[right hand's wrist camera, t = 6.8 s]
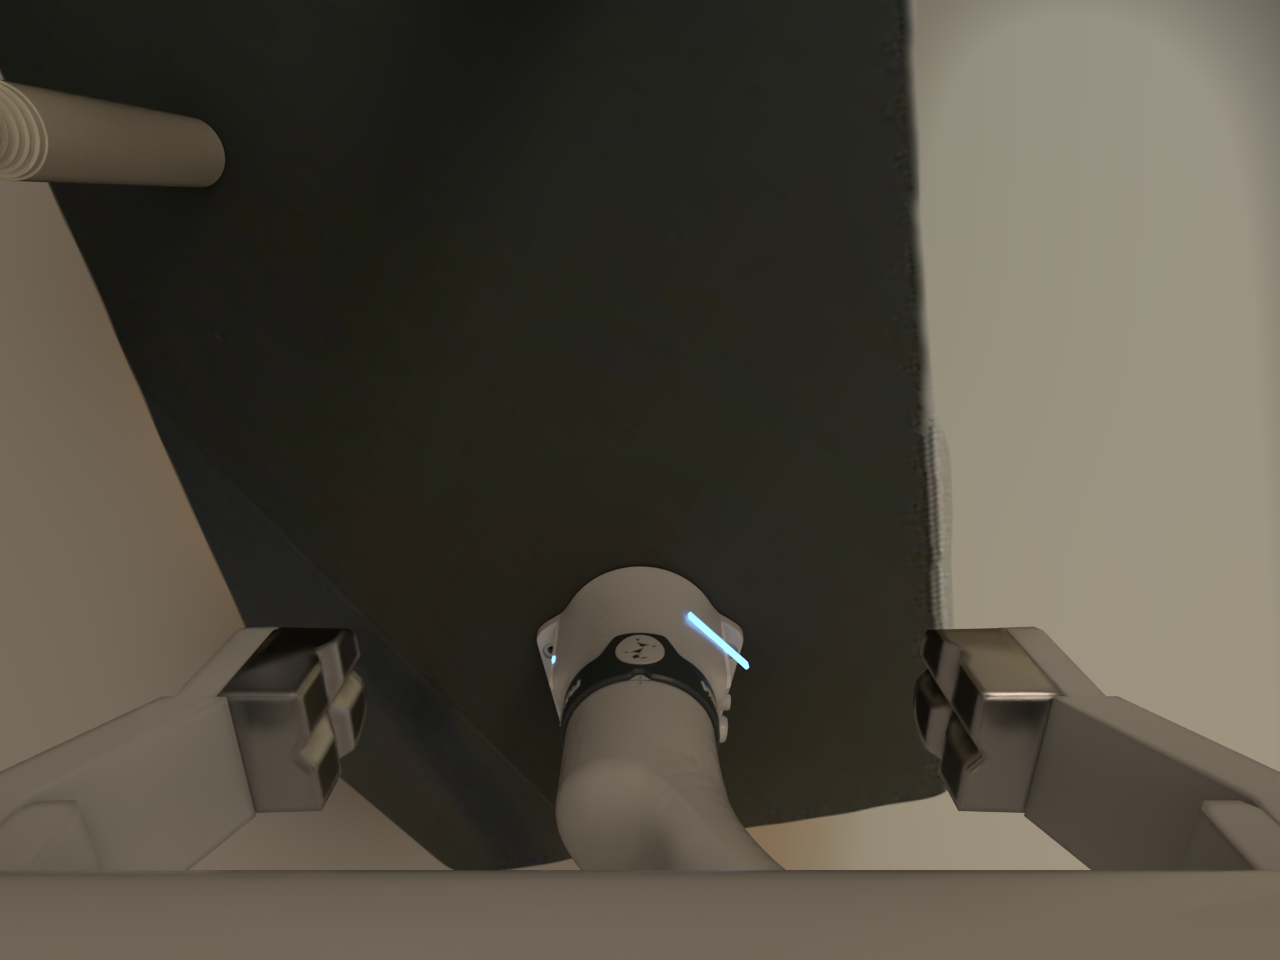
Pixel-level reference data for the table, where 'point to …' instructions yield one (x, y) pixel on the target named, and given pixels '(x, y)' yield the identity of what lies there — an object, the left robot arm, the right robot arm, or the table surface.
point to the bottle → (101, 141)
